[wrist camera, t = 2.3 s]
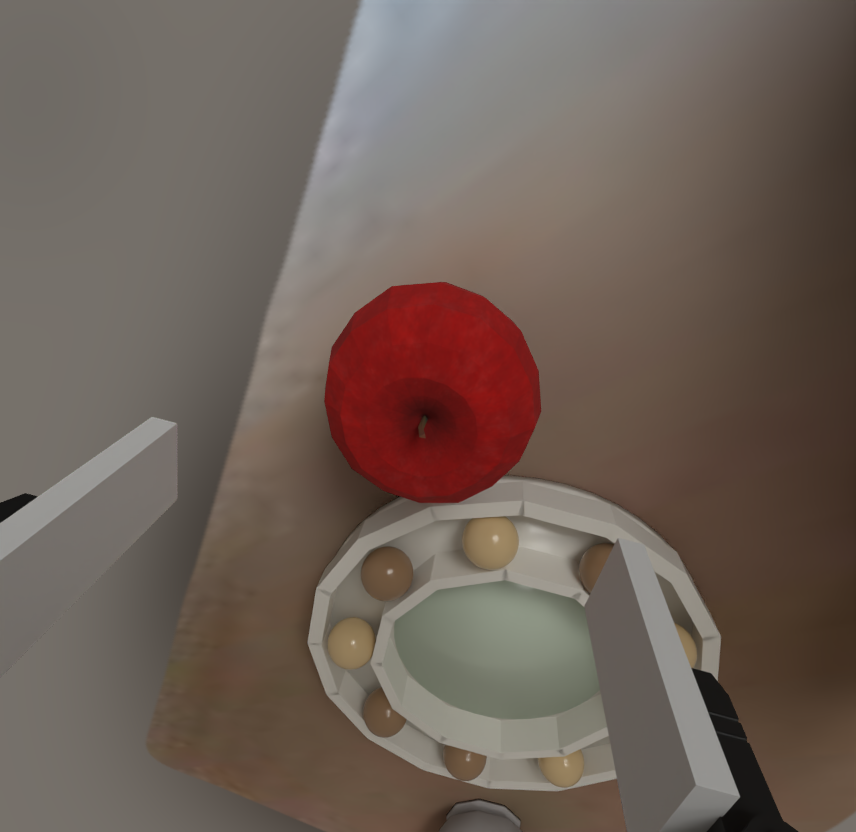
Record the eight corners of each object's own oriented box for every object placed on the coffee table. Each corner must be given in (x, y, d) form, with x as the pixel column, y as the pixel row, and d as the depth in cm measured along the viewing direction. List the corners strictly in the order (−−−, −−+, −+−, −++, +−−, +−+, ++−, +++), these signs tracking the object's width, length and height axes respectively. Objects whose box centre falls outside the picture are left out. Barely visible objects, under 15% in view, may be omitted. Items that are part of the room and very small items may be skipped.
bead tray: (352, 428, 32) (331, 464, 28) (781, 540, 31) (820, 593, 27) (305, 699, 44) (285, 751, 40) (614, 785, 43) (625, 846, 40)
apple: (384, 235, 27) (316, 272, 17) (561, 289, 27) (592, 356, 17) (348, 400, 31) (278, 504, 22) (500, 446, 31) (497, 571, 22)
